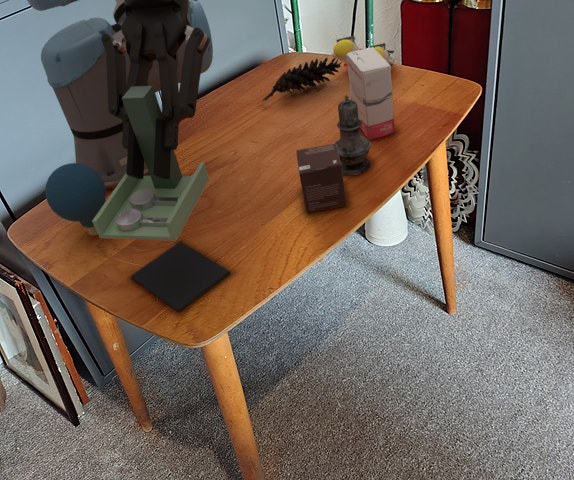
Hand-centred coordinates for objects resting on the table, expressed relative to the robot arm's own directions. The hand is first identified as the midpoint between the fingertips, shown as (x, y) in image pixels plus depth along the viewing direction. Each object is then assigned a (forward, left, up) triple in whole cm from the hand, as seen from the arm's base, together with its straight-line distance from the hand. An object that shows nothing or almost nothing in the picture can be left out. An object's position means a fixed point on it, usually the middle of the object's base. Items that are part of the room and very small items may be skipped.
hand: (148, 176), depth 74 cm
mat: (0, 0, -16) cm, 16 cm away
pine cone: (-22, +46, -16) cm, 54 cm away
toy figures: (-17, +61, -16) cm, 65 cm away
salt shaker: (+3, +33, -16) cm, 37 cm away
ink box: (-2, +44, -16) cm, 47 cm away
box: (+5, +24, -16) cm, 29 cm away
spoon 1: (0, -1, -4) cm, 4 cm away
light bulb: (-19, -2, -16) cm, 26 cm away
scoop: (0, 0, -4) cm, 4 cm away
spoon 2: (+2, -4, -4) cm, 6 cm away
